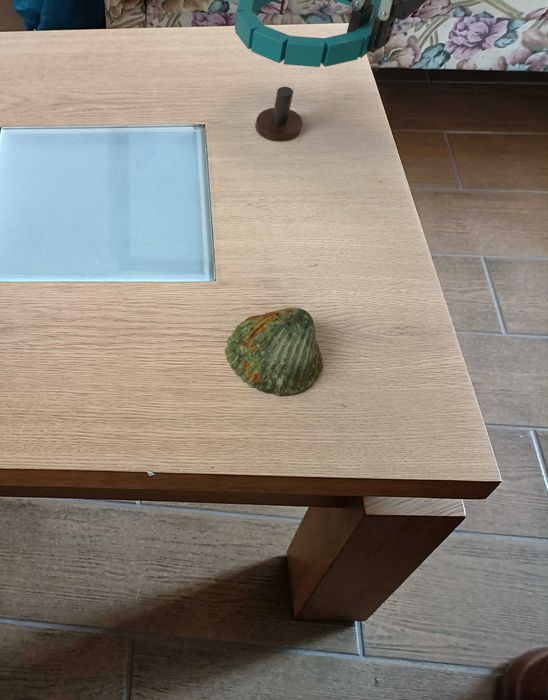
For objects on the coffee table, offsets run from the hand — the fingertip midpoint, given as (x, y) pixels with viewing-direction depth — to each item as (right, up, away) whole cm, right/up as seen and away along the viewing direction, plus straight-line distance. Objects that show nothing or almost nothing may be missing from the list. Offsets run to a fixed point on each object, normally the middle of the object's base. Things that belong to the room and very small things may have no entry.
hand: (365, 44), depth 73 cm
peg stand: (-4, -3, +18) cm, 19 cm away
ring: (-5, +4, +4) cm, 7 cm away
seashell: (-11, -33, -3) cm, 35 cm away
